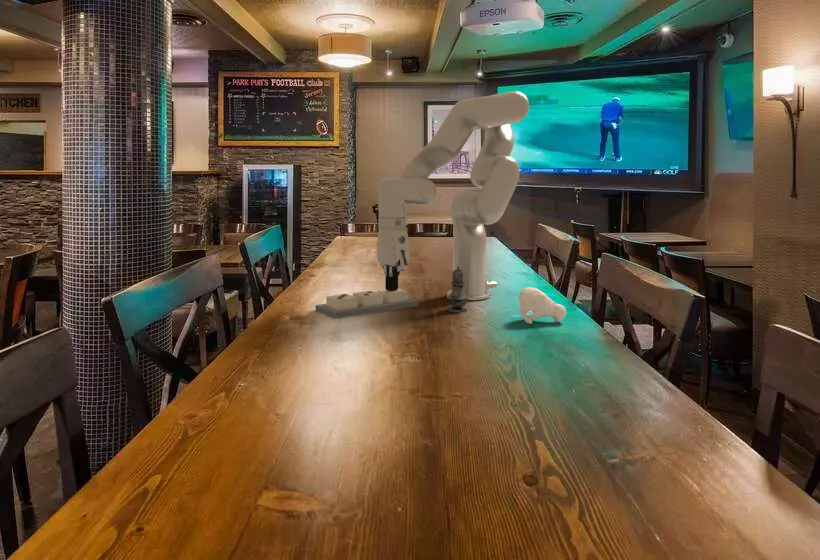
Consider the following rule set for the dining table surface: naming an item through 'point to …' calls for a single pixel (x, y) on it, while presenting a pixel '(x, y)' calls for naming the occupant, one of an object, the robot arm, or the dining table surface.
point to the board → (366, 308)
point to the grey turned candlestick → (457, 293)
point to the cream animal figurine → (539, 305)
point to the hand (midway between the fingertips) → (391, 289)
